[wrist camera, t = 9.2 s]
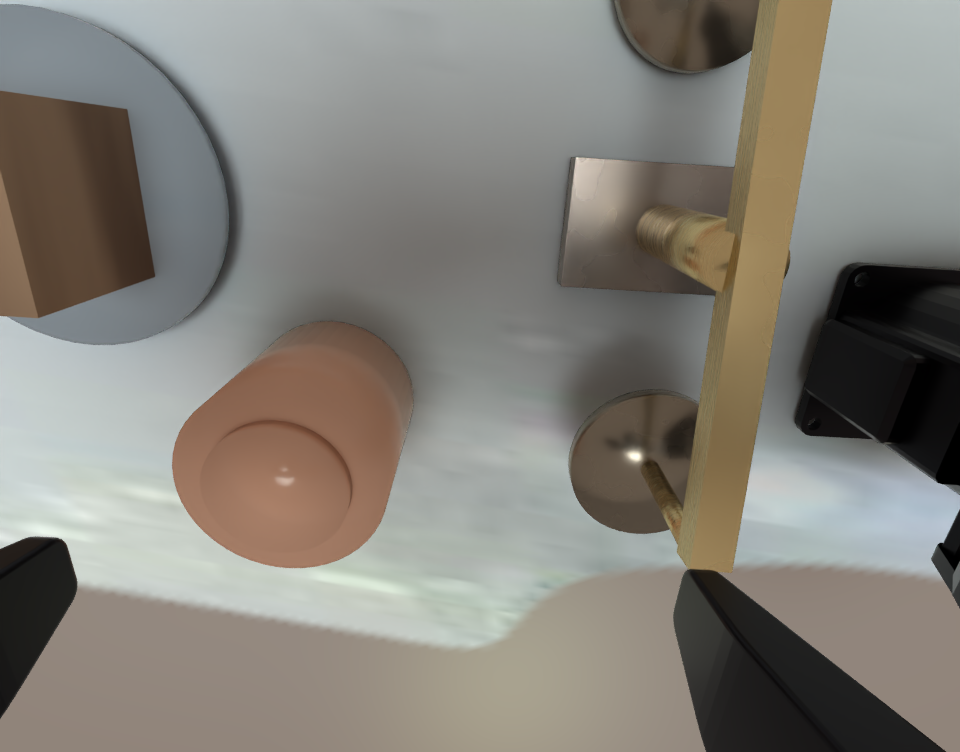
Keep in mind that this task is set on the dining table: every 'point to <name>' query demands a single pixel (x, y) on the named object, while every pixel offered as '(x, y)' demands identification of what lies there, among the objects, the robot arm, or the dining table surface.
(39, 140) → the walnut block
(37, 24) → the disc
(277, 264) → the dining table surface
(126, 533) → the dining table surface
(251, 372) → the terracotta lidded jar
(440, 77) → the dining table surface
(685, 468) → the balance
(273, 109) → the dining table surface
